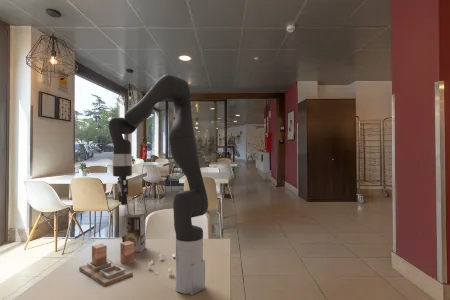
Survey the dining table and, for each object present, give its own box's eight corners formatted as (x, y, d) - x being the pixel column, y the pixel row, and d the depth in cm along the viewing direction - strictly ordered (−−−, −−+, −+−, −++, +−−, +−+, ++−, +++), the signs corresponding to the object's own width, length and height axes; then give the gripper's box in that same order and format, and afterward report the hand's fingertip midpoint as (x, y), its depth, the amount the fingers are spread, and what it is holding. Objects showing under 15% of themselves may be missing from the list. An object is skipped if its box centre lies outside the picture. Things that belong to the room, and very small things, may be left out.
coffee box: (146, 247, 138) (146, 213, 138) (140, 252, 131) (140, 217, 131) (127, 246, 139) (127, 213, 138) (121, 251, 132) (121, 216, 132)
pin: (134, 261, 120) (134, 242, 120) (125, 264, 117) (125, 245, 117) (129, 259, 123) (129, 240, 123) (120, 262, 120) (120, 243, 120)
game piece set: (188, 279, 105) (188, 269, 105) (137, 274, 109) (137, 264, 109) (202, 259, 124) (202, 250, 124) (159, 255, 128) (159, 247, 128)
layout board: (132, 275, 108) (132, 250, 107) (104, 286, 99) (104, 259, 99) (106, 261, 121) (106, 239, 120) (79, 269, 112) (79, 246, 112)
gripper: (134, 165, 117) (134, 205, 116) (129, 164, 129) (129, 200, 129) (114, 165, 113) (114, 206, 113) (111, 164, 126) (111, 201, 126)
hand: (122, 203), depth 121 cm, fingers open, 8 cm apart
